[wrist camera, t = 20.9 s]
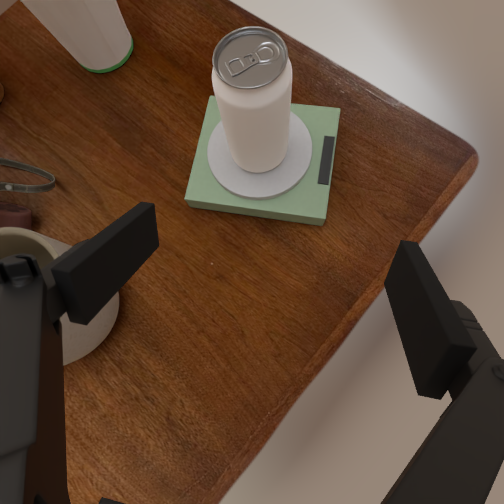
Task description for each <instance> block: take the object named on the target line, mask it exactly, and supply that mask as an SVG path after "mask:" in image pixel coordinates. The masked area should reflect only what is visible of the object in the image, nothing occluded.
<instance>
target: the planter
mask: <svg viewBox="0 0 504 504" xmlns="http://www.w3.org/2000/svg"><path fill="white" fill-rule="evenodd" d="M71 247H73V246H70V245H68V244H65V243H63V242H60V241H57V240H55V239H52V238H50V237H47V236H45V235H42V234H40V233H37V232H34V231H31V230H28V229H24V228H19V227H1V228H0V259H2V258H5V257H7V256H11V255H14V254H22V253H26V254H32V255H34V256H35V258H36V260H37V263H38V265H39V268H40V269H42V268H43V267H45V266H46V265H47V264H49V263H50V262H52V261H53V260H54V259H56V258H57V257H59V256H61V254H63V253H64V252H66V251H68V249H70V248H71ZM118 309H119V292H117V293H116V294H115V295H114V296H113V297H112V298H111V300H110V301H109V302H108V303H107V304H106V305H105V306H104V307H103V308H102V309H101V311H100V312H99V313H98V314H97V315H96V316H95V317H94V318H93V319H92V320H91V322H90V323H89V324H88V325H87V326H86V325H81V324H76V323H72V322H70V321H69V318H68V315H67V312H65V313H64V314H63V315H62V316H61V317H60V321H61V323H62V344H63V366H64V365H67V364H69V363H71V362H74V361H76V360H78V359H80V358H82V357H84V356H85V355H87V354H88V353H90V352H91V351H93V350H94V349H95V348H96V347H97V346H98V345H100V344H101V343H102V341H103V340H104V339H105V338H106V337H107V335H108V334H109V332H110V331H111V329H112V327H113V325H114V323H115V321H116V318H117V314H118Z"/></svg>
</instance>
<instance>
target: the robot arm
mask: <svg viewBox="0 0 504 504" xmlns="http://www.w3.org/2000/svg"><path fill="white" fill-rule="evenodd" d="M158 247H159V240H158V231H157V223H156V214H155V206H154V203H147V202H140V203H139V204H137V205H136V206H135V207H133V208H132V209H131V210H129V211H128V212H127V213H125V214H124V215H123V216H121V217H120V218H119V219H117V220H116V221H114V222H113V223H112V224H110V225H109V226H108V227H106V228H105V229H104V230H102V231H101V232H100V233H98V234H97V235H96V236H94V237H93V238H91V239H90V240H89V239H87V240H85V241H82V242H80V243H77V244H75V245H74V246H73V247H71V248H70V249H68V251H66V252H64V253H63V254H61V256H59V257H57V258H56V259H54V260H53V261H52V262H50V263H49V264H47V265H46V266H45V267H43V268H42V269H40V268H39V265H38V263H37V260H36V258H35V256H34V255H32V254H26V253H22V254H14V255H11V256H7V257H5V258H2V259H0V504H71V502H70V499H69V495H68V489H67V466H66V435H65V405H64V374H63V344H62V323H61V321H60V317H61V316H62V315H63V314H64V313H65V312H67V315H68V318H69V321H70V322H72V323H76V324H81V325H86V326H87V325H88V324H89V323H90V322H91V320H92V319H93V318H94V317H95V316H96V315H97V314H98V313H99V312H100V311H101V309H102V308H103V307H104V306H105V305H106V304H107V303H108V302H109V301H110V300H111V298H112V297H113V296H114V295H115V294H116V293H117V292H118V291H119V290H120V289H121V287H122V286H123V285H124V284H125V283H126V282H127V281H128V280H129V279H130V278H131V276H132V275H133V274H134V273H135V272H136V271H137V270H138V269H139V268H140V267H141V265H142V264H143V263H144V262H145V261H146V260H147V259H148V258H149V257H150V256H151V254H152V253H153V252H154V251H155V250H156V249H157V248H158ZM384 285H385V289H386V292H387V295H388V298H389V302H390V305H391V308H392V311H393V315H394V318H395V321H396V325H397V328H398V331H399V334H400V338H401V341H402V344H403V348H404V351H405V354H406V357H407V361H408V364H409V367H410V371H411V374H412V377H413V380H414V384H415V387H416V390H417V393H418V395H420V396H425V397H429V398H434V399H439V400H441V399H442V397H443V396H444V394H445V393H446V392H447V390H448V391H449V393H450V396H451V398H452V402H451V403H450V404H449V406H448V407H447V409H446V410H445V411H444V412H443V414H442V415H441V416H440V419H439V420H438V422H437V423H436V425H435V426H434V427H433V429H432V430H431V432H430V433H429V435H428V436H427V438H426V439H425V440H424V442H423V443H422V445H421V446H420V448H419V449H418V450H417V452H416V453H415V455H414V456H413V458H412V459H411V461H410V462H409V463H408V465H407V466H406V468H405V469H404V471H403V472H402V473H401V475H400V476H399V478H398V479H397V481H396V482H395V484H394V485H393V487H392V488H391V489H390V491H389V492H388V494H387V495H386V497H385V498H384V499H383V501H382V502H381V504H485V501H486V499H487V497H488V495H489V492H490V490H491V488H492V485H493V483H494V481H495V479H496V476H497V474H498V472H499V469H500V467H501V464H502V462H503V460H504V360H503V359H501V357H500V356H499V354H498V353H497V351H496V349H495V348H494V346H493V345H492V343H491V341H490V340H489V338H488V337H487V335H486V334H485V332H484V331H482V330H483V329H482V327H481V326H480V324H479V323H477V320H476V318H475V316H474V315H473V313H472V312H471V310H470V309H468V308H467V307H466V306H465V305H464V304H463V303H462V302H460V301H455V300H450V299H449V297H448V296H447V294H446V292H445V290H444V289H443V287H442V285H441V283H440V282H439V280H438V278H437V276H436V275H435V273H434V271H433V269H432V268H431V266H430V264H429V262H428V261H427V259H426V257H425V255H424V254H423V252H422V250H421V248H420V247H419V245H418V243H417V242H411V241H404V240H401V241H400V244H399V246H398V249H397V251H396V254H395V256H394V259H393V262H392V264H391V267H390V269H389V272H388V274H387V277H386V279H385V282H384ZM99 504H124V503H121V502H117V501H114V500H110V499H107V498H103V497H102V498H101V500H100V502H99Z"/></svg>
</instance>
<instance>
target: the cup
mask: <svg viewBox="0 0 504 504" xmlns="http://www.w3.org/2000/svg"><path fill="white" fill-rule="evenodd" d="M21 2H22V3H23V4H24V5H25V6H26V7H27V8H28V9H29V10H30V11H31V12H32V13H33V14H34V15H35V16H36V18H37V19H38V20H39V21H40V22H41V23H42V24H43V25H44V26H45V27H46V28H47V29H48V30H49V31H50V32H51V34H52V35H53V36H54V37H55V38H56V39H57V40H58V41H59V42H60V43H61V44H62V45H63V46H64V47H65V48H66V50H67V51H68V52H69V53H70V54H71V55H72V56H73V57H74V58H75V59H76V60H77V61H78V62H79V63H80V65H81V66H82V67H84V68H85V69H87V70H88V71H91V72H95V73H105V72H110V71H112V70H115V69H117V68H119V67H120V66H122V65H123V64H124V63H125V62H126V61H127V59H128V58H129V56H130V55H131V52H132V50H133V39H132V37H131V35H130V33H129V31H128V29H127V27H126V25H125V22H124V20H123V17H122V15H121V12H120V10H119V7H118V5H117V2H116V0H21Z"/></svg>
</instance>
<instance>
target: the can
mask: <svg viewBox="0 0 504 504" xmlns="http://www.w3.org/2000/svg"><path fill="white" fill-rule="evenodd" d="M212 84H213V89H214V93H215V97H216V101H217V104H218V108H219V112H220V116H221V119H222V123H223V127H224V130H225V134H226V138H227V141H228V145H229V149H230V152H231V155H232V158H233V160H234V161H235V163H236V164H237V165H238V166H239V167H241V168H242V169H244V170H246V171H249V172H255V173H261V172H266V171H269V170H271V169H273V168H275V167H276V166H278V165H279V164H280V163H281V162H282V160H283V159H284V157H285V155H286V152H287V147H288V135H289V121H290V106H291V90H292V67H291V63H290V60H289V58H288V51H287V47H286V44H285V42H284V41H283V39H282V38H281V37H280V36H279V35H278V34H277V33H275V32H274V31H272V30H270V29H267V28H264V27H258V26H249V27H243V28H239V29H236V30H234V31H232V32H230V33H229V34H227V35H226V36H225V37H223V38H222V39H221V41H220V42H219V43H218V44H217V46H216V48H215V50H214V53H213V70H212Z"/></svg>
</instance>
